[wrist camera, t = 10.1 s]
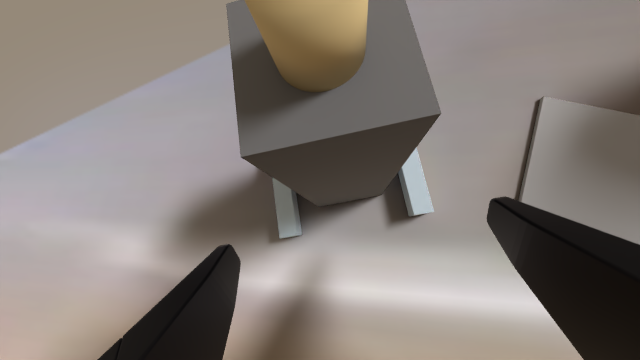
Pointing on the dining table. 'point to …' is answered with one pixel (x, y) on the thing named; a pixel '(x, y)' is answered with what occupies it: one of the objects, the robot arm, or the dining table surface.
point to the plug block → (329, 93)
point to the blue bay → (410, 184)
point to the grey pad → (586, 166)
